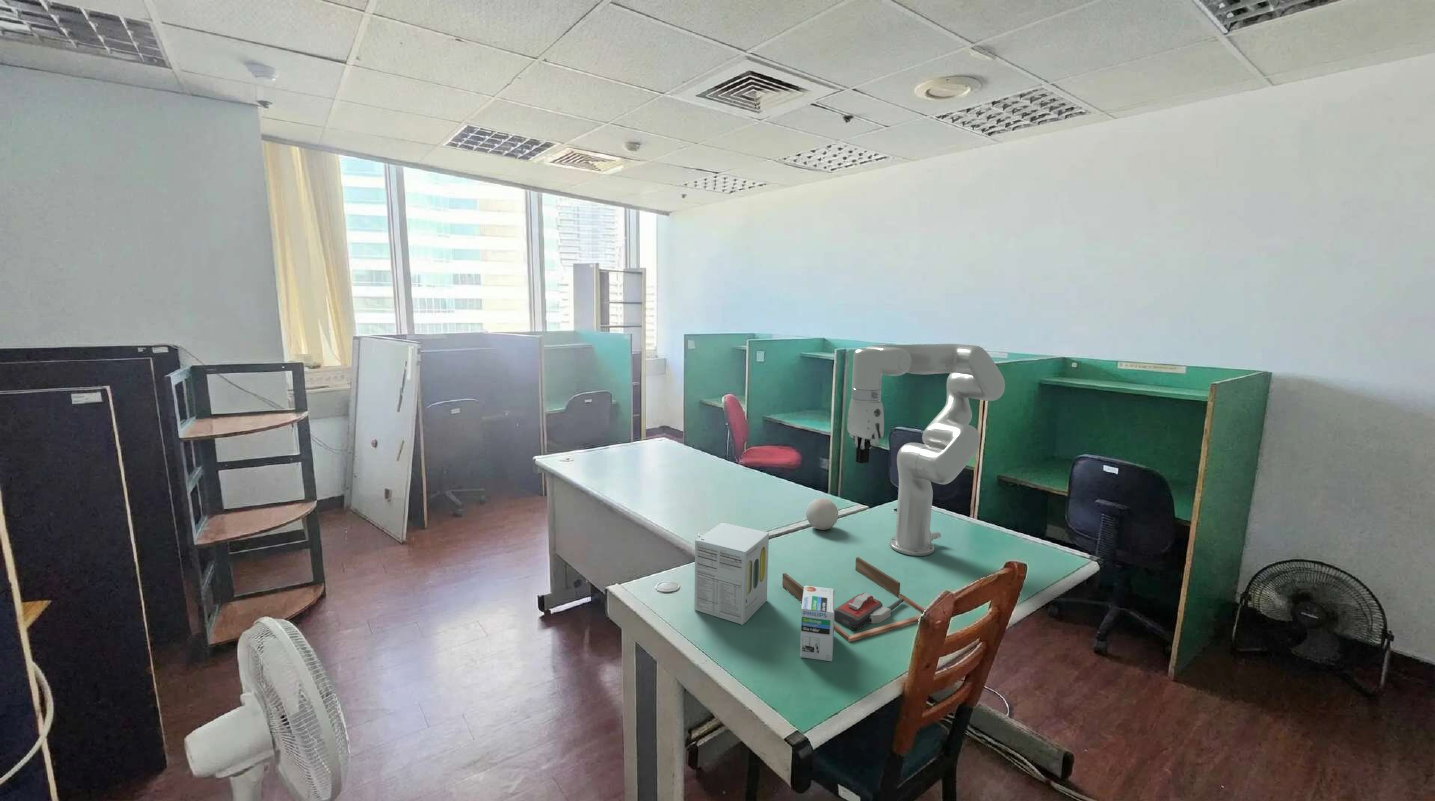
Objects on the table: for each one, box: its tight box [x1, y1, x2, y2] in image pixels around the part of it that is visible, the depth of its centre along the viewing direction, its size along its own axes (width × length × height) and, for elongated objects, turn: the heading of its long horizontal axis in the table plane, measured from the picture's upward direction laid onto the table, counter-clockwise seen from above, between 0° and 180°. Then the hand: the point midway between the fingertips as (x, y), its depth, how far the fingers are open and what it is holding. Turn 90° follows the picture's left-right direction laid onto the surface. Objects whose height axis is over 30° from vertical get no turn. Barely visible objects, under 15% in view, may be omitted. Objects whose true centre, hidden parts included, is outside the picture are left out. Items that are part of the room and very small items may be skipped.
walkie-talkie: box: [834, 592, 904, 631], centre depth 135 cm, size 9×4×20 cm
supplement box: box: [693, 522, 770, 626], centre depth 137 cm, size 13×13×18 cm
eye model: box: [805, 497, 839, 531], centre depth 185 cm, size 10×10×10 cm
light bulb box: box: [799, 585, 836, 662], centre depth 122 cm, size 11×7×11 cm, turn 168°
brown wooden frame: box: [781, 556, 927, 643], centre depth 140 cm, size 24×27×4 cm
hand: (862, 462), depth 157 cm, fingers closed
